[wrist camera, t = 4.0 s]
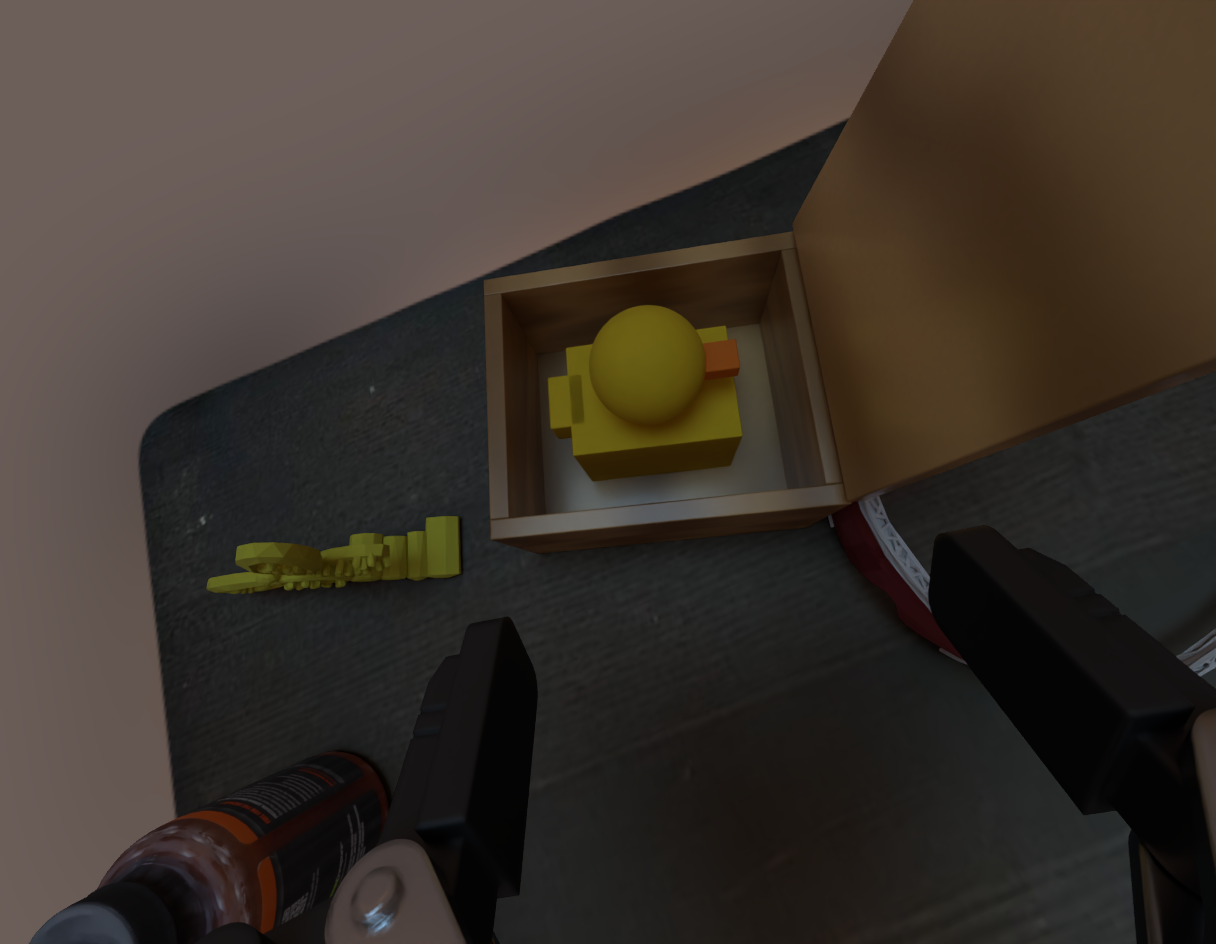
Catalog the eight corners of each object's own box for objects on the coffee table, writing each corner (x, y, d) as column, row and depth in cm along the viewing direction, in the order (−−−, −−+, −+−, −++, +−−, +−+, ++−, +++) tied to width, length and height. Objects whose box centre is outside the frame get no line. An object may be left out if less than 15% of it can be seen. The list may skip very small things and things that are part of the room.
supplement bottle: (274, 764, 26) (-21, 886, 15) (384, 733, 25) (165, 836, 15) (286, 900, 24) (-34, 1148, 13) (404, 870, 24) (174, 1100, 13)
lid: (1713, 164, 4) (2158, 148, 4) (1199, -529, 7) (1491, -513, 7) (847, 502, 18) (968, 493, 18) (791, 223, 21) (897, 219, 21)
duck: (574, 483, 26) (519, 423, 17) (568, 393, 28) (513, 292, 18) (730, 466, 25) (760, 393, 16) (717, 373, 27) (737, 257, 18)
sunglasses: (736, 462, 26) (767, 420, 21) (962, 302, 29) (1030, 235, 25) (1005, 779, 21) (1120, 815, 17) (1234, 546, 25) (1383, 520, 20)
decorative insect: (405, 591, 32) (203, 603, 26) (405, 540, 33) (209, 539, 27) (511, 567, 23) (238, 576, 16) (508, 496, 24) (245, 478, 17)
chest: (536, 553, 27) (490, 540, 20) (526, 350, 29) (483, 279, 23) (807, 527, 25) (852, 503, 19) (769, 316, 28) (797, 230, 21)
